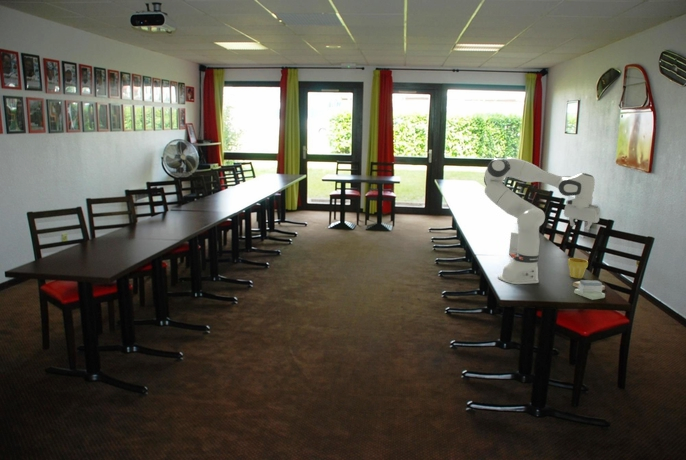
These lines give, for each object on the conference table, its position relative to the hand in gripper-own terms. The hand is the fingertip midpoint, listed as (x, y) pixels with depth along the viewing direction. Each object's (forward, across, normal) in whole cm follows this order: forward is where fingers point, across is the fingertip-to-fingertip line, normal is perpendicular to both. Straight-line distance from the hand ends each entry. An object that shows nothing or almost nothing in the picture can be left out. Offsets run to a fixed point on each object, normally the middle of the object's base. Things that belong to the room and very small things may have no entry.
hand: (579, 227), depth 300 cm
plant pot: (+29, 0, -4) cm, 29 cm away
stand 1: (+29, -16, +8) cm, 34 cm away
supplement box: (+29, +50, -10) cm, 59 cm away
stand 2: (+29, -25, +20) cm, 43 cm away
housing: (+27, -25, +19) cm, 41 cm away
